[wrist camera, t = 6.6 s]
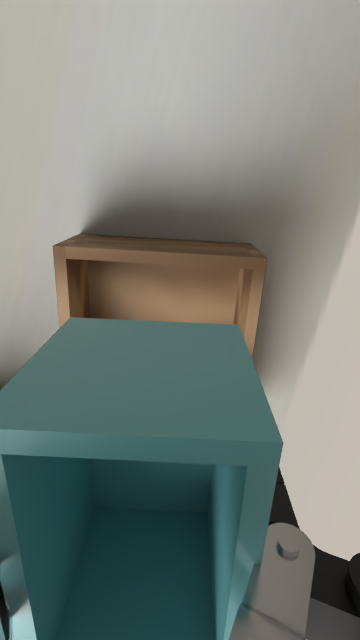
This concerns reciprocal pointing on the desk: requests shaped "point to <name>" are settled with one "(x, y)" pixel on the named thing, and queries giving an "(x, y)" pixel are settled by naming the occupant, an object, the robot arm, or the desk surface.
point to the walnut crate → (160, 281)
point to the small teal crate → (134, 481)
